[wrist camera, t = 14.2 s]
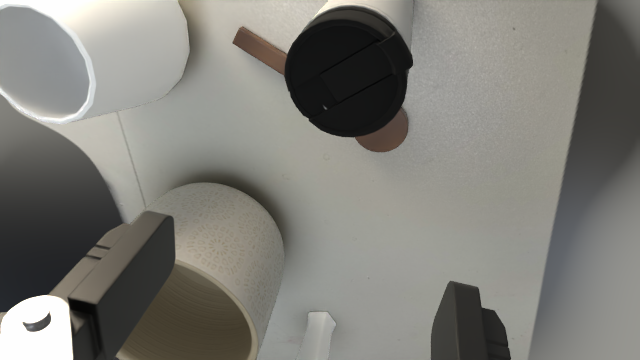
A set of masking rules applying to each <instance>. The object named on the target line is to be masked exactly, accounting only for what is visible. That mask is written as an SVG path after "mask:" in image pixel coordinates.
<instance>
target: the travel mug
mask: <svg viewBox="0 0 640 360" xmlns="http://www.w3.org/2000/svg"><path fill="white" fill-rule="evenodd" d="M413 9H414V0H329V1H328V2H327V3H326V4H325V5H324V6H323V7H322V8H321V10H320V11H319V12H318V13H317V14H316V15H315V16H314V17H313V19H312V20H311V21H310V22H309V23H308V24H307V26H306V27H305V28H304V29H303V31H302V33H301V34H300V35H299V36H298V37H297V39H296V40H295V41H294V42H293V44H292V46H291V48H290V50H289V52H288V54H287V58H286V62H285V69H284V77H285V81H286V84H287V87H288V91H290V96H291V98H292V100H293V102H294V104H295V105H296V107H297V108H298V109H299V111H300V112H301V113H302V114H303V115H304V116H305V117H307V118H309V121H310V122H311V123H312V124H314V125H315V126H316V127H317V128H319V129H320V130H321V131H324V132H326V133H329V134H331V135H336V136H341V137H359V136H365V135H368V134H371V133H374V132H376V131H378V130H380V129H381V128H383V127H385V126H386V125H387V124H388V123H389V122H390V121H392V120H393V119H394V117H395V116H396V114H397V113H398V112H399V110H400V108H401V106H402V104H403V102H404V99H405V94H406V89H407V79H408V73H409V69H410V68H411V67H412V66H413V58H412V54H411V38H412V24H413Z"/></svg>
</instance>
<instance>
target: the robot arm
mask: <svg viewBox="0 0 640 360" xmlns="http://www.w3.org/2000/svg"><path fill="white" fill-rule="evenodd" d="M175 257H176V252H175V229H174V218H173V217H172V216H171V215H167V214H162V213H158V212H154V211H149V210H146V211H144V212H143V213H142V214H141V215H140V216H139V217H138V218H137V219H136V221H135V222H134V223H133V224H132V225H131V224H126V223H123V224H122V225H120V226H118V227H116V228H114V229H112V230H111V231H109V232H107V233H106V234H105V235H104V236H103V237H102V239H101V240H100V241H99V242H98V243H97V244H96V246H95V247H93V248H92V249H91V250H90V251H89V252H88V253H87V254H86V257H83V258H82V260H81V261H80V262H79V263H78V264H77V265H76V266H75V267H74V268H73V269H72V270H71V271H70V272H69V273H68V274H67V275H66V276H65V277H64V279H63V280H62V281H61V282H60V283H59V284H58V285H57V286H56V287H55V288H54V289H53V290H52V291H51V292H50V293H49V294H48V295H47V296H38V297H34V298H30V299H28V300H25V301H23V302H21V303H19V304H18V305H16V306H15V307H13V308H12V309H11V310H10V311H9V312H4V313H0V360H113V359H114V358H115V356H116V355H117V353H118V352H119V350H120V349H121V347H122V346H123V344H124V343H125V341H126V340H127V338H128V337H129V335H130V334H131V332H132V331H133V329H134V328H135V326H136V325H137V324H138V322H139V321H140V319H141V318H142V316H143V315H144V313H145V312H146V310H147V309H148V307H149V306H150V304H151V303H152V301H153V300H154V298H155V297H156V295H157V294H158V292H159V291H160V289H161V288H162V286H163V285H164V283H165V282H166V280H167V279H168V278H169V276H170V274H171V272H172V270H173V267H174V263H175ZM431 360H511V357H510V351H509V348H508V340H507V335H506V330H505V327H504V325H503V323H502V322H501V320H500V319H499V317H498V315H497V314H496V312H495V311H494V310H490V309H485V308H482V307H481V300H480V293H479V289H478V287H475V286H471V285H467V284H462V283H458V282H454V281H450V282H449V283H448V285H447V287H446V290H445V292H444V295H443V298H442V300H441V303H440V305H439V308H438V311H437V313H436V316H435V319H434V322H433V327H432V333H431Z"/></svg>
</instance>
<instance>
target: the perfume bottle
mask: <svg viewBox="0 0 640 360" xmlns="http://www.w3.org/2000/svg"><path fill="white" fill-rule="evenodd" d="M335 327H336V323H335V321H334V320H333V319H332V317H331V316H330V314H329V313H328V312H309V313H308V321H307V329H306V332H305V335H304V338H303V341H302V344H301V346H300V349H299V352H298V355H297V358H296V360H328V358H329V350H330V341H331V334H332V332H333V330H334V328H335Z"/></svg>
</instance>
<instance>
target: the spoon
mask: <svg viewBox="0 0 640 360" xmlns="http://www.w3.org/2000/svg"><path fill="white" fill-rule="evenodd" d="M233 44H235V45H236V46H238V47H239V48H241V49H243V50H244V51H246V52H247V53H249V54H251V55H252V56H254V57H255V58H257V59H259V60H260V61H262V62H263V63H265V64H267V65H268V66H270V67H271V68H273V69H274V70H276V71H278V72H279V73H281V74H282V75H284V69H285V62H286V58H287V55H286V54H285V53H283V52H282V51H280V50H278V49H277V48H275V47H274V46H272V45H271V44H269V43H267V42H266V41H264V40H263V39H261V38H260V37H258V36H256V35H255V34H253V33H252V32H250V31H249V30H247V29H245V28H244V27H241V28H239V30H238V32H237V34H236V36H235V38H234V40H233ZM407 132H408V118H407V115H406V112H405V111H404V109H403V108H402V107H401V108H400V110H399V112H398V113H397V114H396V116H395V117H394V119H393V120H392V121H390V122H389V123H388V124H387V125H386V126H385V127H383V128H381V129H380V130H378V131H376V132H374V133H371V134H368V135H365V136H359V137H355V138H356V140H357V141H358V143H359V144H360V145H362V146H363V147H364V148H366V149H368V150H370V151H374V152H387V151H390V150H393V149H395V148H396V147H398V146H399V145H400V144H401V143H402V142H403V141H404V139H405V137H406V135H407Z"/></svg>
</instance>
